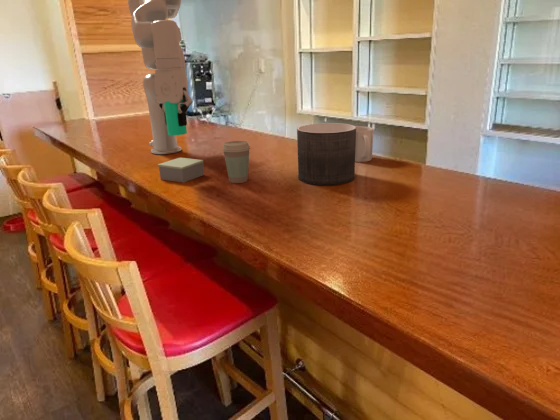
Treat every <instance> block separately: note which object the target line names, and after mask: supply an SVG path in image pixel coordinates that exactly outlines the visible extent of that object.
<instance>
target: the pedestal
mask: <svg viewBox="0 0 560 420" xmlns="http://www.w3.org/2000/svg"><path fill="white" fill-rule="evenodd" d="M157 167H158V169H159V175H160V180H164V181H171V182H177V183H183V184H184V183H186V182H188V181H189V182H190V181H192V180H194V179H197V178H199V177H201V176H204V175H205V171H204V159H199V158H198V159H196V158H187V157H176V158H173V159H171V160H167V161H164V162H161V163H158V164H157Z"/></svg>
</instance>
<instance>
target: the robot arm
mask: <svg viewBox="0 0 560 420" xmlns="http://www.w3.org/2000/svg"><path fill="white" fill-rule="evenodd" d="M181 4H182V0H127V5H128V9H129V14H130V16H131V21H130V23H131V25H130V26H131V30H132V35H133V39H134V41H135V44H136V45H137V46H138V47H139V48H141V54H142V60H143V64H144V66H145V67H146V68H147V69H149V70H151V71H152V70H153V71H154V70H155V71H154V73H149V74H146V75H145V76H144V77H143V79H142V88H143V91H144V94H145V98H146V103H147V107H148V113H149V118H150V119H149V120H150V128H151V132H152V133H151V134H152V140H150V141H149V142H148V145H149V146H152V148H151V149H150V153H151V154H153V155H167V154H174V153H179V152H181V151H182V147H181V146H179V145H178V143H177V142H178V141H177V135H168V131H167V123H166V115H165V108H164V103H165V102H166V101H169V102H170V103H172V104H177V108H178V112H179V113H177V114H178V123H179V126H185V125H186V126H187V125H188V122H187V113H188V109H190V106H191V105H192V104H193V100H192V99H191V96H190V95H189V89H188V88H189V85H188V77H187V71H186V70H187V69H186V61H185V54H184V53H185V52H184V51H183V48H182V46H181V45H180V42H181V41H182V33H181V32H182V31H181V29H180V27H179V26H178V23H177V22H176V21H174V20H171V19H175V18H176V17H177V16H178V13H179V10H180V8H181ZM182 100H183V102H180V101H182ZM181 104H183V106H182V107H181Z"/></svg>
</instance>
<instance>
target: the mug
mask: <svg viewBox="0 0 560 420" xmlns="http://www.w3.org/2000/svg"><path fill="white" fill-rule="evenodd" d="M355 127H356V148H355V163H364V162H369V161H372V159H373V147H374V145H373V143H374V128H373V127H370V126H355Z"/></svg>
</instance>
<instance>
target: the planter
mask: <svg viewBox="0 0 560 420" xmlns="http://www.w3.org/2000/svg"><path fill="white" fill-rule="evenodd" d="M356 127H357V126H356V125H353V124H349V123H341V122H340V123H338V122H337V123H336V122H325V123H324V122H322V123H321V122H320V123H308V124H304V125H300V126H298V127H297V128H296V133H297V134H296V135H297V136H296V141H297V143H296V145H297V170H298V171H297V173H298V175H297V178H298V180H299V181H301V182H303V183H304V184H308V185H315V186H336V185H343V184H347V183H350V182H352V181H354V179H355V178H356V177H355V176H356V174H355V172H356V170H355V169H356V162H355V148H356Z"/></svg>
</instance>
